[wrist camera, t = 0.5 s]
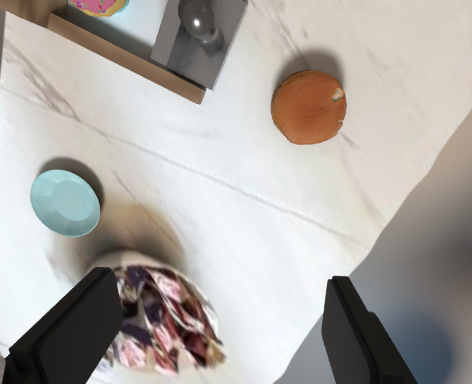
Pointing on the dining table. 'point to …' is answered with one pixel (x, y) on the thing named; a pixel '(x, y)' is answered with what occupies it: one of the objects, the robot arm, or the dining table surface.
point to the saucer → (65, 203)
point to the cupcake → (100, 6)
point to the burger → (309, 107)
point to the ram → (198, 37)
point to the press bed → (98, 44)
